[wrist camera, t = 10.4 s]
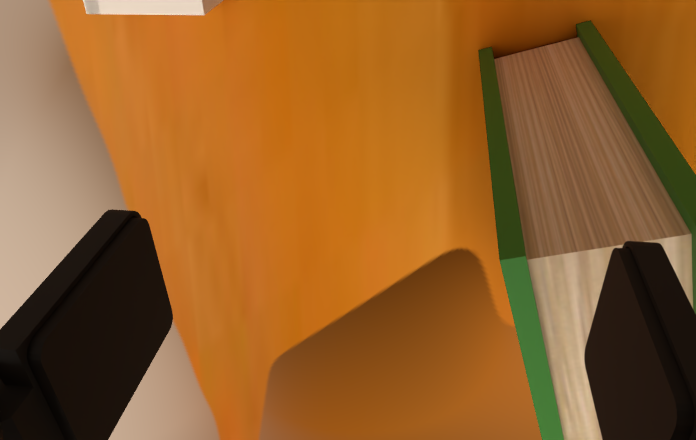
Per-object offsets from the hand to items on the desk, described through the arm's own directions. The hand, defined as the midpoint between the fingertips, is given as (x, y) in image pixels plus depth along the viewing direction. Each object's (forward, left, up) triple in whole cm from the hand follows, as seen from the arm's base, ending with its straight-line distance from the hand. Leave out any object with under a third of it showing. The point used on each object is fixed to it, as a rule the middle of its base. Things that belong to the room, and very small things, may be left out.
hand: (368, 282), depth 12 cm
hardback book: (-10, +13, -32) cm, 36 cm away
